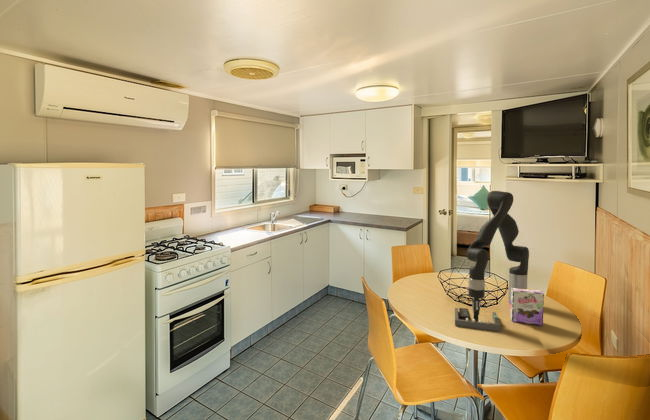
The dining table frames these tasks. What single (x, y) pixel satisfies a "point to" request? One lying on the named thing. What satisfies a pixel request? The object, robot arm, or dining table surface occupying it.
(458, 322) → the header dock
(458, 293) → the dining table surface
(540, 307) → the candy box
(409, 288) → the dining table surface
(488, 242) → the robot arm
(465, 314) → the multiport hub
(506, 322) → the dining table surface
